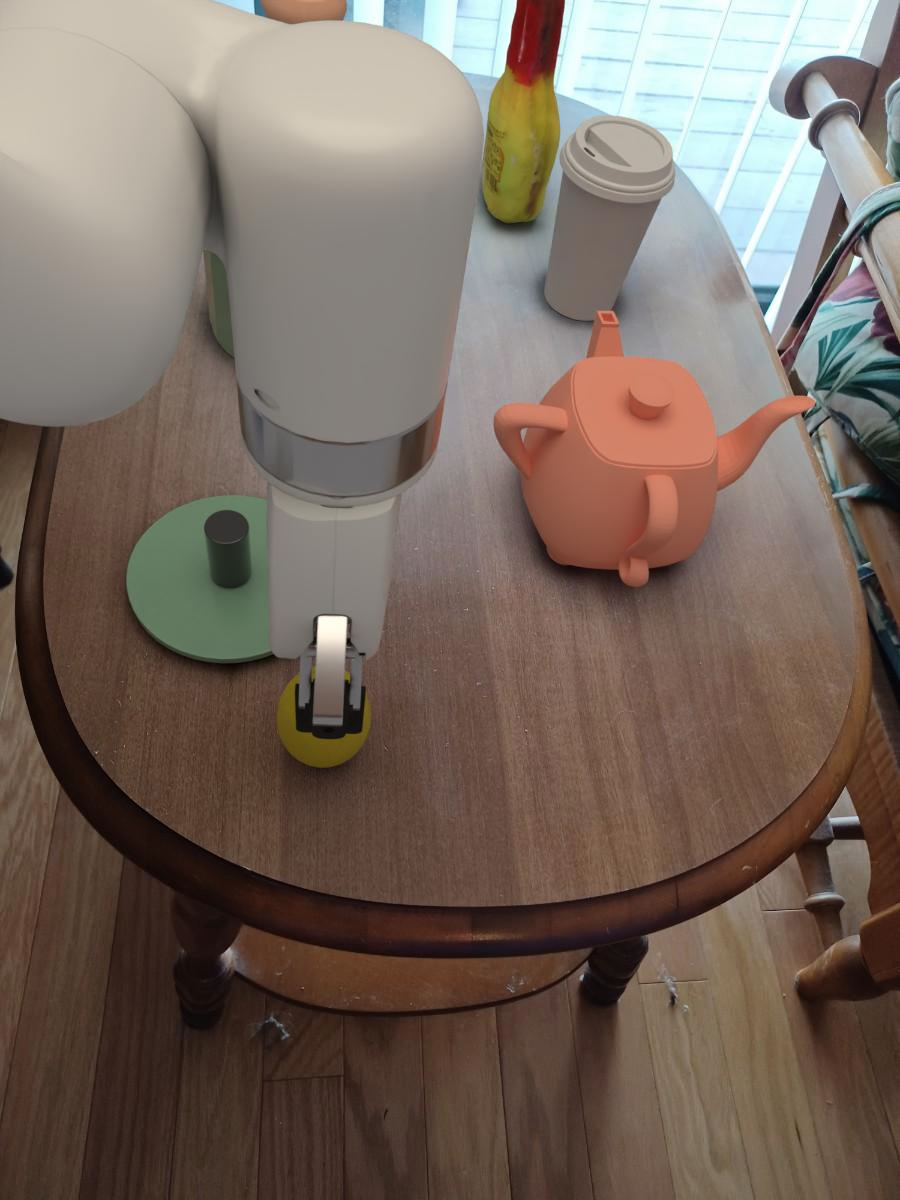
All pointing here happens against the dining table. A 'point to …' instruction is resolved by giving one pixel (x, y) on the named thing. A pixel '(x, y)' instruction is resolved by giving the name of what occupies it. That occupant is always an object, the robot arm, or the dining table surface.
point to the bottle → (524, 115)
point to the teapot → (627, 458)
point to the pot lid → (205, 580)
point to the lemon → (311, 747)
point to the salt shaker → (304, 10)
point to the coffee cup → (604, 210)
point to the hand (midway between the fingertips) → (333, 643)
